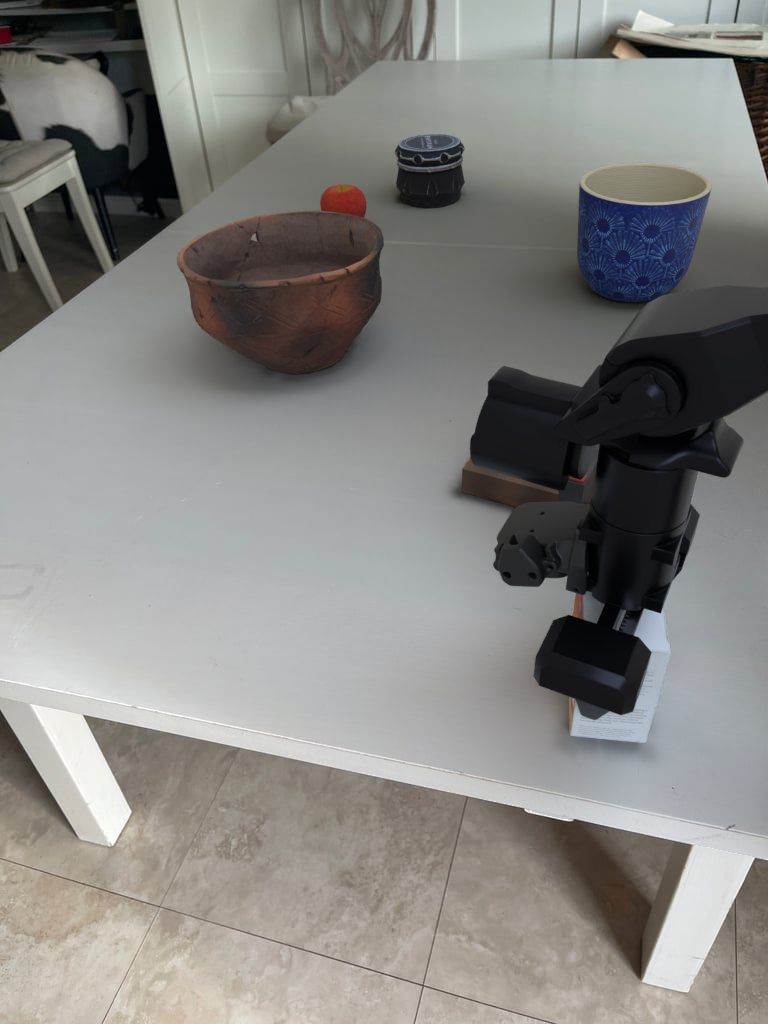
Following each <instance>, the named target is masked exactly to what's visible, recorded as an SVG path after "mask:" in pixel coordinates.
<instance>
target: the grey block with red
mask: <svg viewBox="0 0 768 1024" xmlns="http://www.w3.org/2000/svg"><path fill="white" fill-rule="evenodd" d="M599 445H600V444H597V447H596V451H595V454H594V457H593V460H592V462H591V465H590V467H589V469H588V471H587V473H586V475H585V476H584V477H583V479H581V480H579V479H575V478H572V477H570V479H569V481H568V482H567V485H566V488H565V490H564V491H562V490H559V492H558V501H557V502H560V501H571V502H575V503H577V504H590V502H591V499H592V494H593V487H594V480H595V473H596V466H597V459H598V452H599Z"/></svg>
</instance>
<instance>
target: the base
mask: <svg viewBox="0 0 768 1024" xmlns="http://www.w3.org/2000/svg"><path fill="white" fill-rule="evenodd" d="M461 492H462V493H464V494H468V495H471V496H475V497H479V498H482V499H486V500H490V501H493V502H496V503H500V504H503V505H508V506H511V507H515V508H516V507H517V506H519V505H521V504H524V503H528V502H557V501H558V492H559V491H558V490H555V489H551V488H548V487H544V486H541V485H537V484H534V483H531V482H527V481H524V480H520V479H517V478H514V477H510V476H507V475H503V474H500V473H497V472H493V471H490V470H486V469H483V468H479V467H476V466H474V464H473V463H472V460H471V457H469V459H468V461H466V463H465V465H463V467H462V468H461ZM590 504H591V502H590Z"/></svg>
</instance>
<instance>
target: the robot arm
mask: <svg viewBox="0 0 768 1024" xmlns="http://www.w3.org/2000/svg"><path fill="white" fill-rule="evenodd" d="M766 394H768V286H765V287H764V286H763V287H761V286H748V285H747V286H746V285H733V284H724V285H717V286H710V287H706V288H705V287H704V288H703V287H702V288H697V289H691V290H683V291H676V292H669V293H667V294H666V295H663V296H661V297H659V298H656V299H653V300H650V301H648V303H646V304H645V305H644V306H643V307H641V309H640V310H639V311H638V313H636V315H635V317H634V318H633V319H632V320H631V322H630V323H629V325H628V326H627V327H626V328H625V330H624V331H623V333H622V334H621V335H620V337H619V338H618V339H617V341H616V342H615V343H614V344H613V346H612V347H611V349H610V350H609V351H608V352H607V354H606V355H605V357H604V359H603V361H602V364H598V365H597V367H595V369H594V370H593V372H592V373H591V375H590V376H589V377H588V378H587V380H586V381H585V382H584V384H583V385H582V386H580V385H575V384H571V383H567V382H563V381H559V380H554V379H549V378H545V377H541V376H537V375H533V374H530V373H529V372H527V371H524V370H522V369H519V368H516V367H512V366H507V365H502V366H501V367H500V368H499V369H498V370H497V371H496V372H495V373H494V374H493V375H492V376H491V378H490V379H489V380H487V396H486V397H485V399H484V402H483V404H482V406H481V409H480V411H479V414H478V417H477V421H476V425H475V429H474V432H473V434H472V435H471V436H470V441H469V454H470V455H469V456H470V458H471V460H472V463H473V464H474V466H476V467H479V468H483V469H486V470H490V471H493V472H497V473H500V474H503V475H507V476H510V477H514V478H517V479H520V480H524V481H527V482H531V483H534V484H537V485H541V486H544V487H548V488H551V489H555V490H558V491H559V490H562V491H564V490H565V488H566V485H567V482H568V481H569V479H570V477H572V478H575V479H579V480H581V479H583V477H584V476H585V475H586V473H587V471H588V469H589V467H590V465H591V462H592V460H593V457H594V454H595V451H596V447H597V444H600V445H599V452H598V459H597V466H596V473H595V480H594V487H593V494H592V499H591V504H577V503H575V502H571V501H560V502H528V503H524V504H521V505H519V506H517V507H515V508H513V510H512V511H511V513H510V514H509V515H508V517H507V519H506V520H505V522H504V524H503V525H502V527H501V529H500V530H499V532H498V534H497V535H496V541H497V544H496V545H495V547H494V548H493V551H494V555H495V559H494V561H493V563H492V566H493V568H494V569H495V570H496V571H497V572H498V573H499V575H500V578H501V580H502V581H503V582H504V584H506V585H508V586H509V587H525V588H526V587H527V588H539V587H541V585H542V584H543V583H544V581H545V579H562V578H566V583H565V591H567V592H570V593H575V594H576V593H577V594H581V595H585V593H586V591H588V592H592V593H591V595H592V597H593V598H595V599H596V600H598V601H599V602H601V603H603V604H605V605H604V608H603V610H602V612H601V615H600V617H599V619H598V622H597V624H596V623H593V622H590V621H587V620H584V619H580V618H577V617H574V616H573V615H571V614H566V615H563V616H561V617H558V618H555V619H553V620H552V622H551V624H550V626H549V627H548V630H547V632H546V634H545V636H544V638H543V640H542V642H541V644H540V646H539V649H538V651H537V653H536V655H535V657H534V668H533V674H532V675H533V678H534V680H535V682H536V683H537V685H538V687H541V688H543V689H547V690H549V691H553V692H555V693H558V694H560V695H563V696H566V697H568V698H569V697H571V698H574V699H575V700H576V703H577V706H578V708H579V711H580V714H581V715H582V716H584V717H587V718H589V719H592V720H597V719H599V718H600V717H602V716H603V715H605V714H606V713H608V712H613V713H616V714H618V715H624V714H628V713H631V712H633V711H634V708H635V705H636V702H637V699H638V696H639V694H640V691H641V688H642V685H643V682H644V679H645V676H646V672H647V669H648V665H649V662H650V658H651V653H652V652H651V651H650V649H649V648H648V647H647V646H646V645H645V644H644V643H643V641H642V640H641V639H640V638H639V637H637V636H635V633H636V630H637V628H638V625H639V622H640V620H641V617H642V614H643V612H644V609H647V610H650V611H654V612H657V613H660V614H661V612H662V609H663V607H664V606H665V603H666V600H667V598H668V595H669V592H670V589H671V586H672V584H673V581H674V580H675V578H677V576H679V574H680V573H681V572H682V570H683V567H684V566H685V565H684V564H685V561H686V559H687V556H688V555H689V552H690V550H691V547H692V545H693V541H694V538H695V535H696V531H697V528H698V524H699V520H700V516H701V514H700V513H699V512H698V511H697V509H696V508H695V507H694V506H693V505H692V503H691V502H692V499H693V494H694V491H695V488H696V487H695V486H696V483H697V478H698V474H699V473H702V474H707V475H710V476H714V477H716V478H717V477H718V478H723V479H725V478H728V477H729V476H731V474H732V472H733V469H734V467H735V465H736V462H737V461H738V457H739V455H740V453H741V451H742V449H743V446H744V444H745V440H744V438H743V437H742V436H741V435H740V434H739V433H738V432H737V431H736V430H735V428H733V427H731V426H730V425H729V424H728V423H727V422H726V421H725V419H724V418H725V417H727V416H730V415H732V414H734V413H736V412H737V411H739V410H741V409H742V408H744V407H747V405H749V404H751V403H752V402H754V401H756V400H758V399H759V398H761V397H762V396H764V395H766ZM623 610H626V613H625V614H624V618H623V620H622V622H621V625H620V627H619V630H615V629H616V626H617V624H618V622H619V619H620V617H621V614H622V612H623Z"/></svg>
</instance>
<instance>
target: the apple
mask: <svg viewBox="0 0 768 1024" xmlns="http://www.w3.org/2000/svg"><path fill="white" fill-rule="evenodd" d="M319 203H320V211H329V212H337V213H344V214H350V215H355V216H359V217H362V218H365V216H366V213H367V200H366V197H365V193H364V192H363V191H362V190H361V189H360V188H358V187H357V186H356V185H352V184H336V185H335V184H334V185H331V186H328V187H327V188H325V190H324V191H323V192H322V193H321V196H320V200H319Z"/></svg>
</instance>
